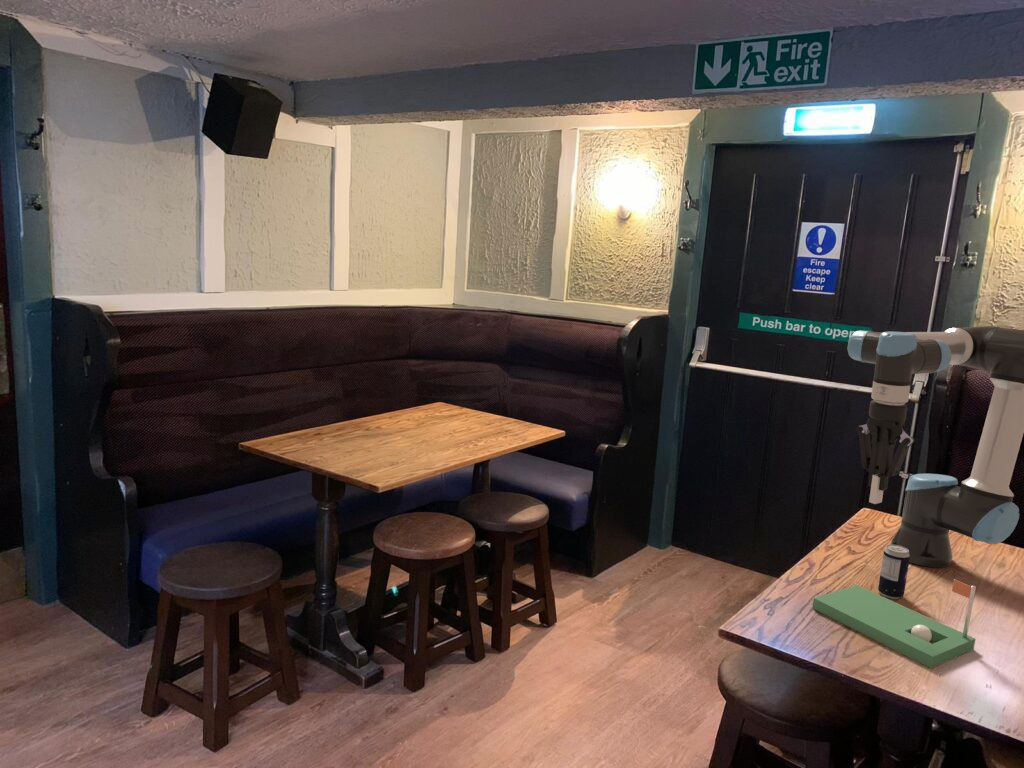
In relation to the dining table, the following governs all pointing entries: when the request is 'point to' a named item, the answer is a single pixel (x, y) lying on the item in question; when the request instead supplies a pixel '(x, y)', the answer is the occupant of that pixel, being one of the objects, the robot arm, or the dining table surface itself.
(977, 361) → the robot arm
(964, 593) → the flag pin
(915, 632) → the ball
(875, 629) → the putting mat
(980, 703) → the dining table surface
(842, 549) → the dining table surface
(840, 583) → the dining table surface
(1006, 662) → the dining table surface
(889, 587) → the beverage can
